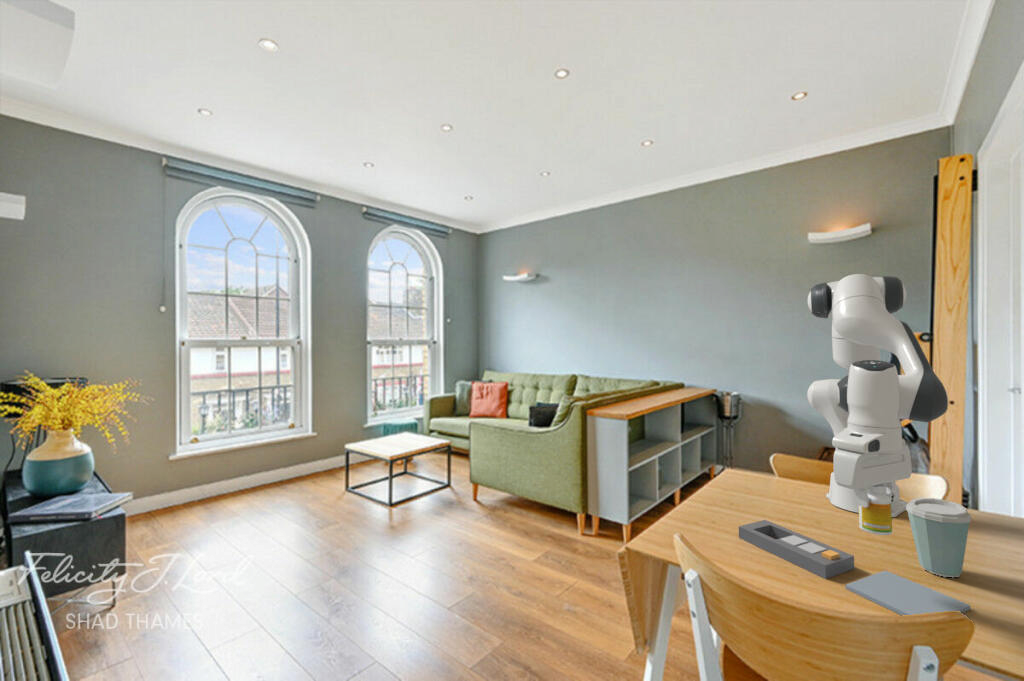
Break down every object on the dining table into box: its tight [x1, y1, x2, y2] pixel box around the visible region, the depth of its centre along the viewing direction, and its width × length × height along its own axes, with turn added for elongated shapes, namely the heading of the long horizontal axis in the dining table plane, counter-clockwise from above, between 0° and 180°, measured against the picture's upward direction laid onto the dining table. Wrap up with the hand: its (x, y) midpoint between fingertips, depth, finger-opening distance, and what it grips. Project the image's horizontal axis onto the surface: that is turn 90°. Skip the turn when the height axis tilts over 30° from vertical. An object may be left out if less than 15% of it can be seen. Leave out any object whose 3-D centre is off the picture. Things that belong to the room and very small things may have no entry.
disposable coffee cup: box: [905, 497, 973, 579], centre depth 98 cm, size 11×11×15 cm
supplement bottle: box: [858, 484, 893, 536], centre depth 92 cm, size 5×5×10 cm
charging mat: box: [845, 569, 971, 616], centre depth 88 cm, size 14×14×1 cm
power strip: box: [738, 519, 855, 580], centre depth 108 cm, size 10×22×4 cm, turn 23°
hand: (874, 503), depth 92 cm, fingers closed on supplement bottle, 5 cm apart
